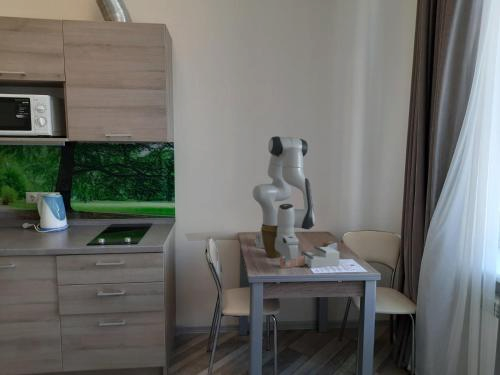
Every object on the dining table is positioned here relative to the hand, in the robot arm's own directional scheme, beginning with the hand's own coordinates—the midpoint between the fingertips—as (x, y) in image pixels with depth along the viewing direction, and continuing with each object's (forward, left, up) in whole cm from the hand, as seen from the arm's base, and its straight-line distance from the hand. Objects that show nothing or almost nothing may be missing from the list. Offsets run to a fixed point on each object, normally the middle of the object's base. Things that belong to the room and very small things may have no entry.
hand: (285, 263), depth 169 cm
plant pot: (-19, +2, -2) cm, 19 cm away
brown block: (0, +4, -2) cm, 4 cm away
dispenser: (0, +20, -2) cm, 20 cm away
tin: (-10, +32, -2) cm, 34 cm away
